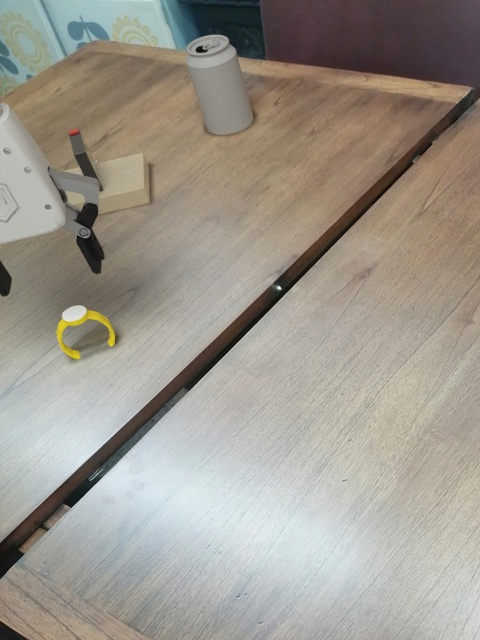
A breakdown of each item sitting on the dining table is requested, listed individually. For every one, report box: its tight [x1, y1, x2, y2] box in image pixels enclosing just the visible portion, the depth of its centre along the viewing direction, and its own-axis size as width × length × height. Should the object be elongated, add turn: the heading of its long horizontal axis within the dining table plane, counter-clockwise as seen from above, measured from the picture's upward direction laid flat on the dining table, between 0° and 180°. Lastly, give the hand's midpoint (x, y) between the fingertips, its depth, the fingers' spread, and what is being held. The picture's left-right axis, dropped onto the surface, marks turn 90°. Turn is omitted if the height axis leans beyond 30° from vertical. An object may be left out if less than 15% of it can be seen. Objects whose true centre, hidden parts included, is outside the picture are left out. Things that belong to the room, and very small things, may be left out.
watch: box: [55, 305, 116, 360], centre depth 78 cm, size 6×3×6 cm, turn 115°
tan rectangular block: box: [63, 152, 151, 215], centre depth 99 cm, size 14×11×3 cm
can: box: [185, 34, 254, 136], centre depth 104 cm, size 8×8×12 cm
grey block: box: [67, 127, 103, 192], centre depth 96 cm, size 7×2×6 cm, turn 22°
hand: (53, 277), depth 72 cm, fingers open, 9 cm apart
